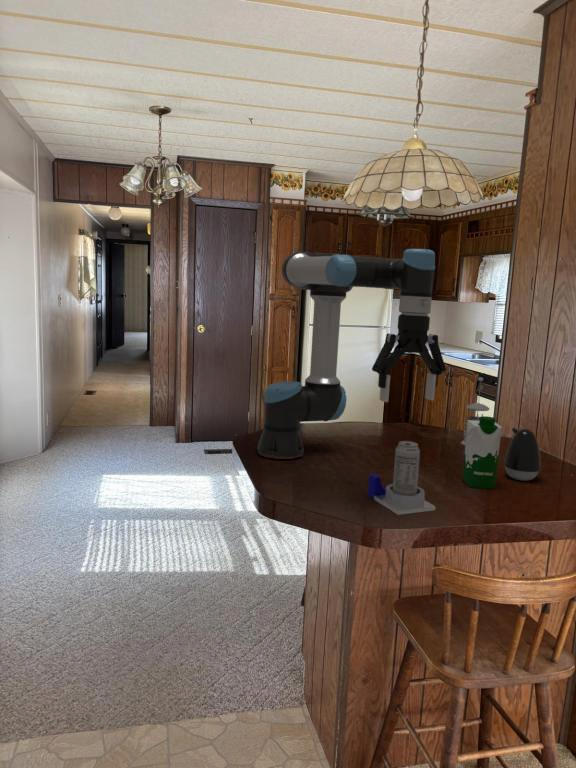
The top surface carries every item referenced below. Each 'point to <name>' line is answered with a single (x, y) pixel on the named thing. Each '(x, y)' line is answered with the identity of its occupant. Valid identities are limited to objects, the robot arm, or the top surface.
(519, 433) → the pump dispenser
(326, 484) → the top surface
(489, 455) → the milk carton
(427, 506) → the plate
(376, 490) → the blue u-shaped piece
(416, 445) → the energy drink can
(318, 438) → the top surface
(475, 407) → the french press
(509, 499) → the top surface
